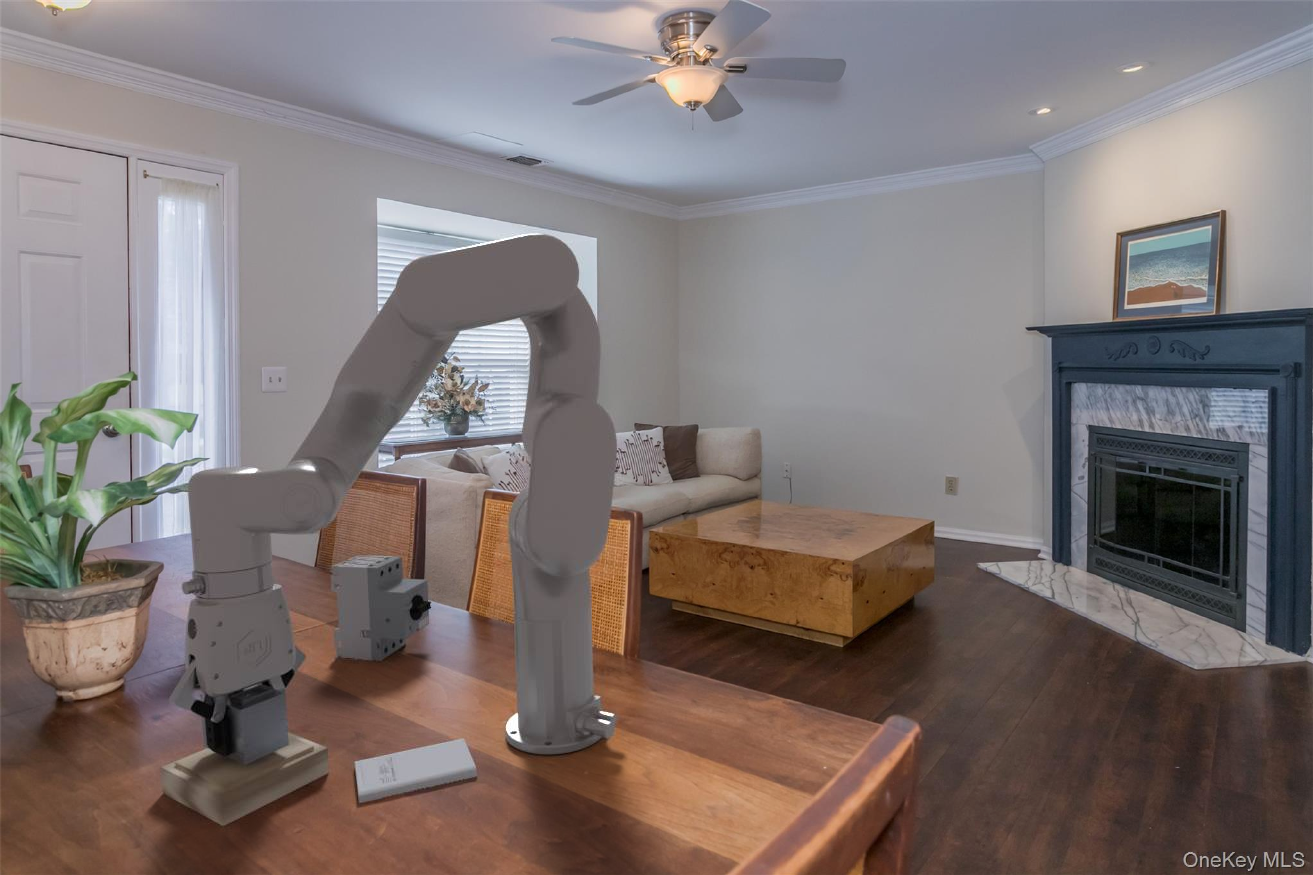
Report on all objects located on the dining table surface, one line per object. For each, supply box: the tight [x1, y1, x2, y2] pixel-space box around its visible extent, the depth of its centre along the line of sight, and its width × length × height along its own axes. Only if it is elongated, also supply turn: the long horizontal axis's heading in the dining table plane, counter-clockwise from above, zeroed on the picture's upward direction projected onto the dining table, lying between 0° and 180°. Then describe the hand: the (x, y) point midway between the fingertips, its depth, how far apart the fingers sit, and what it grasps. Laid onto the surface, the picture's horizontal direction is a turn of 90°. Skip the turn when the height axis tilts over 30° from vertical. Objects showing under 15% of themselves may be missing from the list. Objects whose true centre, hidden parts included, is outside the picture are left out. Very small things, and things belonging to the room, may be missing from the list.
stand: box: [160, 731, 330, 827], centre depth 86 cm, size 12×12×3 cm
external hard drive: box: [354, 738, 478, 804], centre depth 88 cm, size 2×8×12 cm
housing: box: [199, 683, 289, 765], centre depth 86 cm, size 8×5×7 cm, turn 58°
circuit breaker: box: [330, 554, 432, 662], centre depth 126 cm, size 8×14×15 cm, turn 79°
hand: (246, 739), depth 86 cm, fingers closed on housing, 4 cm apart
